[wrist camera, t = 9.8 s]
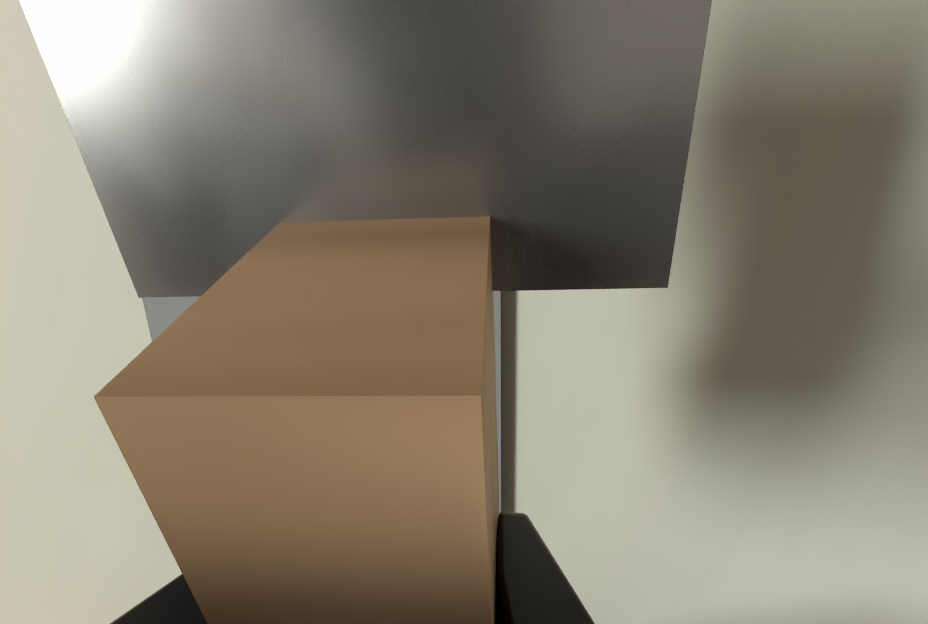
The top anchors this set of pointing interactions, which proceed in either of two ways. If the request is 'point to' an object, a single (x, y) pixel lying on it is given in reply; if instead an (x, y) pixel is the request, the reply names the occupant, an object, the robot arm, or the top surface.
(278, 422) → the turner
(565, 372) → the top surface
